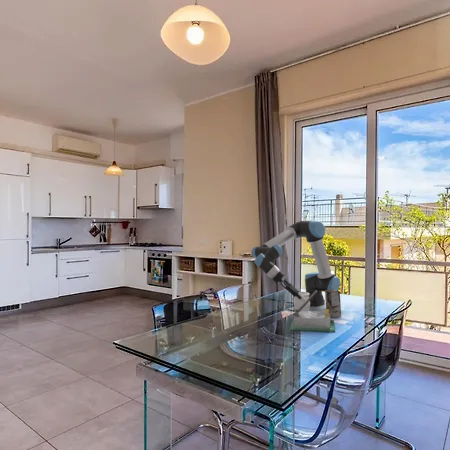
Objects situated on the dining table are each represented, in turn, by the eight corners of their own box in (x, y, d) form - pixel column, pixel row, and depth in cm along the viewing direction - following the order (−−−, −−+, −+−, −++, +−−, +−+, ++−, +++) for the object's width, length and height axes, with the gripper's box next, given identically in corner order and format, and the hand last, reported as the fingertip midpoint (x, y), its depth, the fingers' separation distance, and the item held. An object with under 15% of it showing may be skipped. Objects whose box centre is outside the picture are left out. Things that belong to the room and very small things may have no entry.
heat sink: (290, 331, 202) (289, 315, 202) (292, 320, 221) (291, 306, 221) (335, 332, 195) (334, 315, 195) (334, 321, 215) (333, 306, 214)
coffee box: (341, 316, 224) (340, 291, 224) (332, 317, 223) (330, 292, 223) (334, 312, 233) (333, 288, 233) (325, 313, 232) (324, 289, 232)
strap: (296, 315, 208) (295, 314, 208) (297, 313, 213) (295, 311, 213) (317, 292, 204) (315, 291, 205) (317, 291, 209) (315, 289, 209)
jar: (311, 314, 234) (310, 291, 233) (309, 318, 224) (308, 295, 224) (295, 313, 237) (294, 291, 237) (293, 317, 227) (291, 295, 227)
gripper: (273, 277, 219) (301, 303, 215) (270, 280, 207) (300, 309, 202) (281, 268, 218) (310, 295, 213) (278, 271, 205) (309, 300, 201)
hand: (305, 302), depth 208 cm, fingers closed
